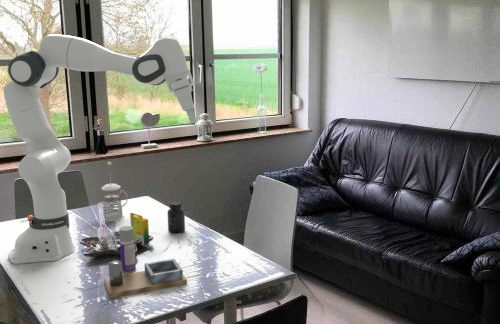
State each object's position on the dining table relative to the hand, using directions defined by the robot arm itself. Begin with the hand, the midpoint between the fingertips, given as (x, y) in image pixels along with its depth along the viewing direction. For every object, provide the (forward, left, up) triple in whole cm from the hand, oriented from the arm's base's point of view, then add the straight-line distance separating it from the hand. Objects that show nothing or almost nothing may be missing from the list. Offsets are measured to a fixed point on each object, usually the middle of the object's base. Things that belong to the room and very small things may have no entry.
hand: (194, 123), depth 182 cm
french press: (-20, +55, -48) cm, 76 cm away
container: (-25, -3, -48) cm, 55 cm away
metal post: (-31, -15, -47) cm, 58 cm away
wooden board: (-22, -15, -48) cm, 55 cm away
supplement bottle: (0, +27, -48) cm, 55 cm away
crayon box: (-16, +21, -48) cm, 55 cm away
